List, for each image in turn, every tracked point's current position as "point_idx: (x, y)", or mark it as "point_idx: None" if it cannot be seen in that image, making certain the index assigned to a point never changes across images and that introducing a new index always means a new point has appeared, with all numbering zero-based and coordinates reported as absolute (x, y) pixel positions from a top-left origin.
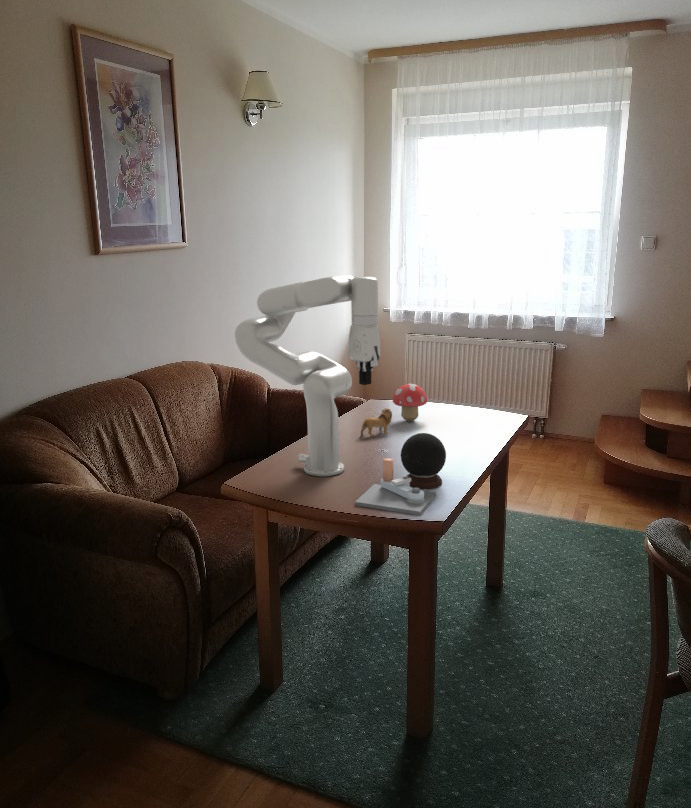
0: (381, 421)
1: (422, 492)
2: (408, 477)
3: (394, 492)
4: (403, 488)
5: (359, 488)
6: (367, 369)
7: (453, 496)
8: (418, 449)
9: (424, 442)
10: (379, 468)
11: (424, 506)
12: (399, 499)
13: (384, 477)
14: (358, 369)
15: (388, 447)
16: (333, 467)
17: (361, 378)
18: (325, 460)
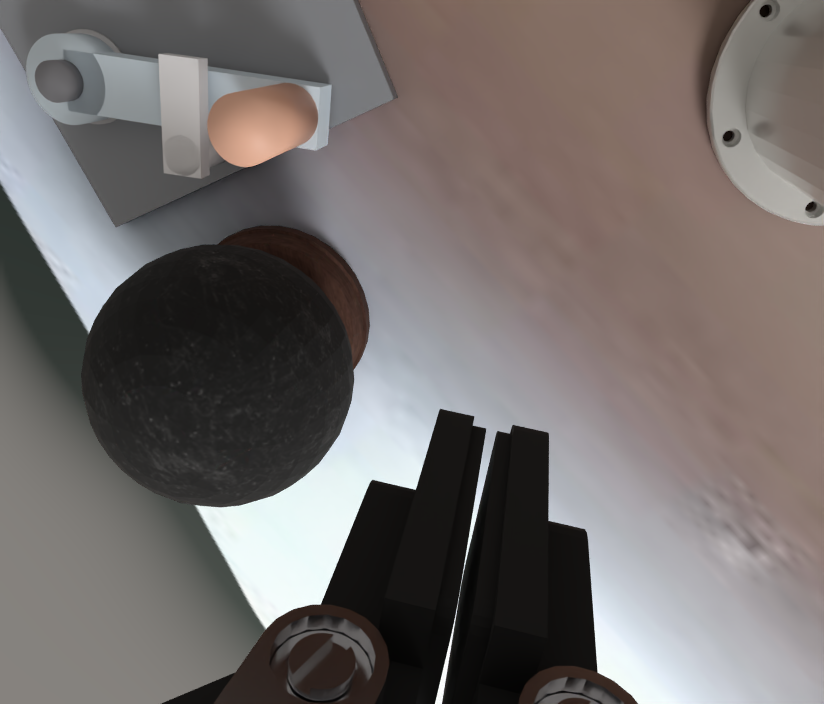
0: None
1: (47, 104)
2: (179, 170)
3: (216, 67)
4: (142, 75)
5: (444, 17)
6: (208, 686)
7: (81, 269)
8: (125, 304)
9: (106, 365)
10: (577, 332)
11: (10, 44)
12: (142, 21)
13: (277, 84)
14: (619, 702)
15: (754, 594)
16: (753, 83)
17: (454, 481)
18: (805, 23)
